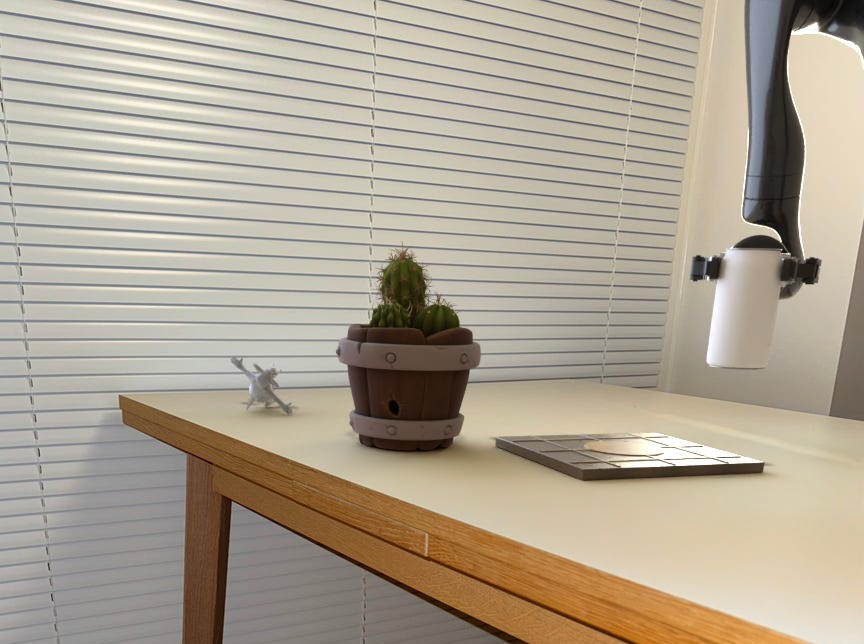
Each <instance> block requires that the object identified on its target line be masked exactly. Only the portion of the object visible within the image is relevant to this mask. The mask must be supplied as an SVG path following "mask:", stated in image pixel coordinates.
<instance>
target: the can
mask: <svg viewBox="0 0 864 644" xmlns="http://www.w3.org/2000/svg"><path fill="white" fill-rule="evenodd" d="M781 251H782V249H768V248H732V247H729V248H725V253H726V254H725V256H724V258H723V259H722V261H721V263H720V266H719V272H718V278H717V285H716V284H715V293H714V301H713V307H712V314H711V315H712V316H711V323H710V329H709V336H708V345H707V353H706V361H705V362H706V364H708V365H707V367H710V368H715V369H725V370H740V371H744V370H745V371H755V370H756V371H758V370H760V371H761V370H765V369H766V367H768V366H769V362H770V357H771V351H772V345H773V340H774V339H773V338H774V332H775V328H776V327H775V326H776V319H777V313H778V307H779V302H780V300H779V295H780V289H781V282H782V281H781V276H782V269H783V261H782V257H781Z"/></svg>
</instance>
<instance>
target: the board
mask: <svg viewBox="0 0 864 644" xmlns="http://www.w3.org/2000/svg"><path fill="white" fill-rule="evenodd" d="M494 445H495V447H497V448H499V449H502V450H505V451H507V452H509V453H511V454H515V455H517V456H520V457H523V458H525V459H526V460H527V459H528V460H531V461H533V462H535V463H538V464H541V465H542V466H545V467H548V468H551V469H552V470H555V471H559V472H561V473H562V474H565V475H568V476H571V477H574V478H575V479H579V480H581V481H597V480H598V481H599V480H618V479H619V480H621V479H643V478H644V479H645V478H664V477H665V478H666V477H689V476H711V475H713V476H714V475H729V474H730V475H734V474H757V473H759V474H761V473H764V469H765V461H761V460H758V459H754V458H750V457H746V456H743V455H739V454H735V453H733V452H732V453H731V452H729V451H725V450H721V449H717V448H713V447H709V446H706V445H703V444H699V443H695V442H692V441H689V440H684V439H680V438H678V437H677V438H676V437H673V436H670V435H666V434H662V433H658V432H625V433H624V432H623V433H590V434H589V433H588V434H582V433H581V434H553V435H552V434H551V435H550V434H548V435H512V436H511V435H509V436H506V435H505V436H496V437H495V443H494Z"/></svg>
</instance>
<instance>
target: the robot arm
mask: <svg viewBox="0 0 864 644" xmlns="http://www.w3.org/2000/svg"><path fill="white" fill-rule="evenodd" d="M743 4H744V6H743V19H744V20H743V26H744V29H743V30H744V51H745V53H744V55H745V81H746V98H747V100H746V101H747V121H748V122H747V150H746V151H747V152H746V162H745V163H746V164H745V171H744V172H745V173H744V179H743V180H744V182H743V191H742V199H741V200H742V201H741V218H742V220H743V221H744V222H745V223H747V224H749V225H753V226H759V227H763V228H767V229H771V230H772V231H774V232H775V233H776V234H777V236H778V238H779V239H777V238H775V237H773V236H771V235H765V234H756V235H755V234H753V235H750V236H746V237H745V238H743V239H741V240H739V241H737V242H736V243H735V244H734V245H733V246H732V247H731V248H768V249H782V251H781V257H782V261H783V269H782V276H781V281H782V282H781V289H780V295H779V301H782V300H789V299H791V298H793V297H794V296H796V294H798V292H799V291H800V290H801V289H802V287H803V285H807V286H808V285H815V284H819V280H820V279H819V278H820V274H821V273H820V272H821V267H822V262H823V260H822V259H820V258H818V257H814V256H809V258H805V253H804V247H803V242H802V241H803V240H802V235H801V223H800V222H801V221H800V215H801V214H800V211H801V199H802V190H803V185H804V184H803V183H804V175H805V167H806V159H807V158H806V154H807V150H806V149H807V148H806V137H805V133H804V128H803V125H802V123H801V122H802V121H801V119H800V116H799V113H798V110H797V107H796V105H795V100H794V98H793V94H792V89H791V84H790V81H789V53H790V44H791V39H792V36H795V35H804V34H820V35H823V36H826V37H827V36H828V37H831V38H833V39H835V40H838V41H839V42H841V43H844V44H845V45H847V46H849V47H851V48H852V49H854V50H855V51H856V52H857V53H858V54H859V57H860V60H861V63H862V68H863V69H864V0H744V3H743ZM725 254H726V252H720V253H719V256H718V255H717V254H713V255H712V256H708V257H705V256H702V255H701V254H696V255H695V256H692V259H691V264H690V265H691V266H690V273H689V281H692V282H698V281H708V282H709V283H714V282H715V286H716V285H717V278H718V272H719V266H720V263H721V261H722V259H723V258H724V256H725Z"/></svg>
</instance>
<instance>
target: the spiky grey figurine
mask: <svg viewBox="0 0 864 644" xmlns="http://www.w3.org/2000/svg"><path fill="white" fill-rule="evenodd" d="M243 360H244V356H241V358H240V359H238V358H237V357H236V356H235V355H233V356H231V357H230V363H231V364H233V365H234V367H236V368H237V369H238V370H240V371H241V372H242V373H243V374H244V375H245V376H246V377H247V378H248V380H249V382H250V383H249V387H248V395H249V396H250V399H249V401H248V402H247V404H246V408H245V409H246V410H248V409H249V408H250V407H251V406H252V405H253V403H254V402H258V403H263V406H265V407H270V406H271V405H272V404H273V403H274V402H275V403H276V404H277V405H278V406H279V407H280V409H281V411H283V412H284V413H286V414H287V415H291V414H293V413H294V409H292V408H291V407H290V406H291V405H292V404H293V402H289V403H285V402H284V401H283V400H282V399H281V398H280V397H279V396H278V395H277V394H276V393H275V388H277V389H278V388H280V384H279V383H278V382H277V380H275V379H276V378H277V377H278V376H279V374H281V372H282V369H280V370H279V371H277V368H276V367H274V366H275V362H272V363H271V365H270V366H269V368H267V369H263V368H262V367H260V366H259V365H258V364H257V363H255V362H254V363H252V366H253V368H254V369H255V370H256V372H257V373H258V374H257V375H256V374H255V373H253V372H252V371H250V370H249V369H247V368H246V366H245V365H244V364H243Z"/></svg>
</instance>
